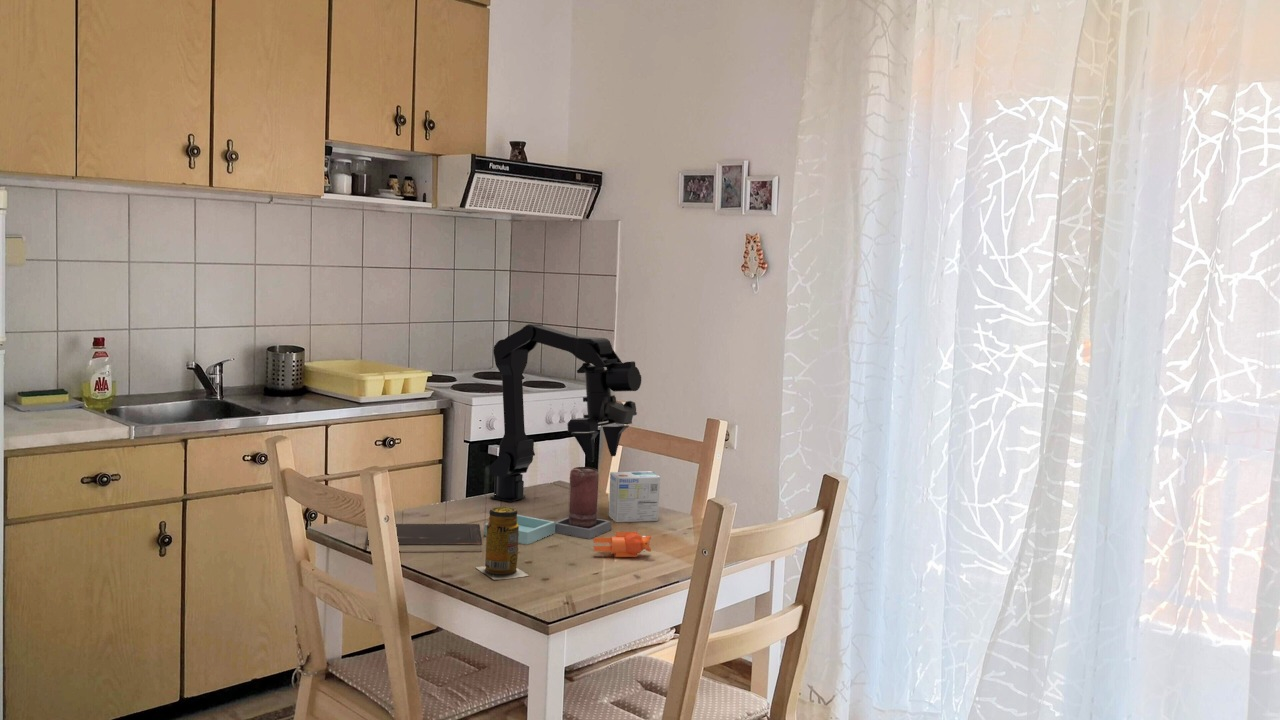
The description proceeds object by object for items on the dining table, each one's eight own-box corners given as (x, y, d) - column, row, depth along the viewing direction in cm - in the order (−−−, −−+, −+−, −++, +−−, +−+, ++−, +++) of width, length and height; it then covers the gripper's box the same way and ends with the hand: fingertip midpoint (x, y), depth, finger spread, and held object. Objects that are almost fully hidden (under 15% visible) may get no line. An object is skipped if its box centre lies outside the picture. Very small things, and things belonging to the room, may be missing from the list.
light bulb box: (649, 514, 245) (652, 470, 244) (659, 521, 239) (661, 476, 238) (607, 515, 242) (609, 471, 241) (615, 523, 236) (617, 477, 235)
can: (563, 528, 229) (566, 466, 227) (589, 526, 231) (592, 465, 230) (573, 535, 223) (576, 472, 222) (600, 533, 226) (603, 471, 224)
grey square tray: (551, 531, 225) (552, 523, 225) (574, 523, 234) (574, 514, 233) (589, 539, 221) (589, 530, 221) (610, 529, 229) (611, 521, 229)
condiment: (510, 564, 200) (512, 504, 199) (529, 576, 193) (531, 514, 192) (475, 568, 196) (477, 507, 195) (493, 581, 189) (495, 517, 188)
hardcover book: (482, 554, 208) (482, 543, 207) (364, 555, 203) (365, 543, 203) (478, 533, 223) (479, 522, 223) (370, 533, 219) (370, 523, 218)
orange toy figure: (595, 531, 206) (654, 531, 208) (590, 533, 213) (647, 533, 215) (595, 556, 205) (654, 556, 207) (590, 557, 212) (647, 557, 214)
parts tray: (484, 536, 219) (484, 524, 219) (513, 525, 229) (513, 514, 228) (527, 544, 214) (527, 532, 214) (555, 533, 224) (555, 521, 224)
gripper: (605, 394, 226) (609, 465, 226) (648, 388, 242) (652, 454, 242) (564, 395, 232) (568, 464, 232) (609, 389, 247) (613, 453, 248)
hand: (602, 458), depth 238 cm, fingers open, 9 cm apart
